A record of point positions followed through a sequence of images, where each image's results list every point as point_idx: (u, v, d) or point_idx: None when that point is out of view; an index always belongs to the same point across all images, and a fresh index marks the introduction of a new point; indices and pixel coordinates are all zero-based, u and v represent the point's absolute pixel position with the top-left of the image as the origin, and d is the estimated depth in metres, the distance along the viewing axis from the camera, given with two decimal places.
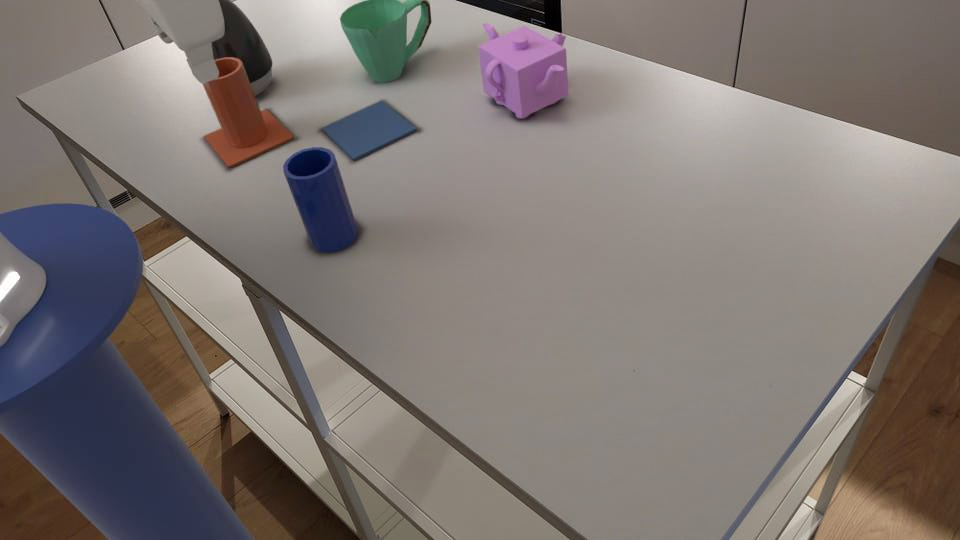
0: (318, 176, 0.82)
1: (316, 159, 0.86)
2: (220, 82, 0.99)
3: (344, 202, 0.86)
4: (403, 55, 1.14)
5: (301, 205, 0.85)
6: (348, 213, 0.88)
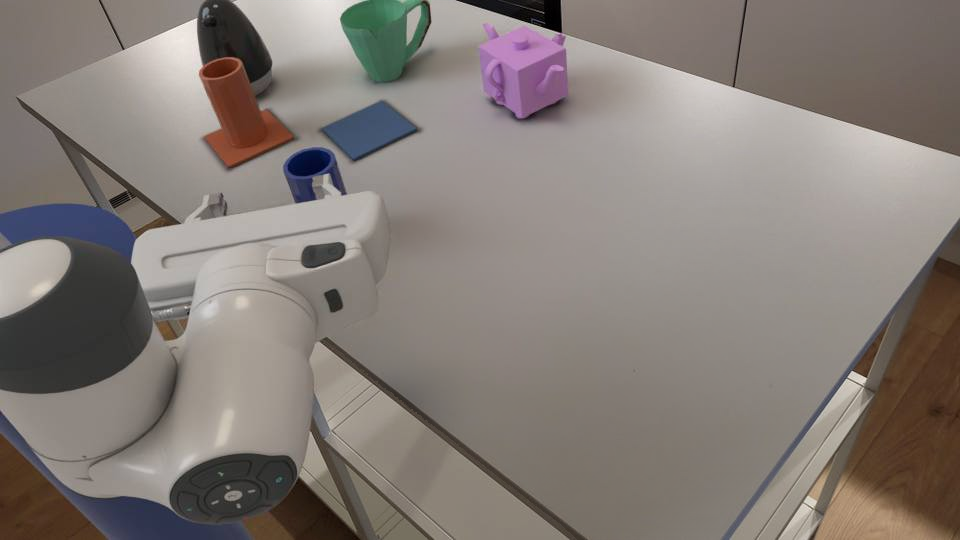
0: None
1: (316, 159, 0.86)
2: (220, 82, 0.99)
3: None
4: (403, 55, 1.14)
5: None
6: None
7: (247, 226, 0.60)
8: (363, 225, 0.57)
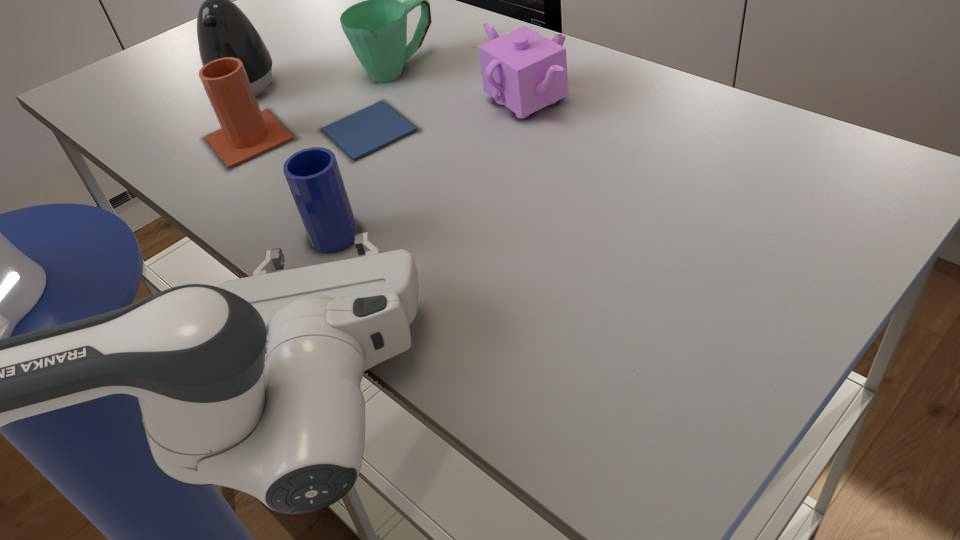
0: (318, 176, 0.82)
1: (316, 159, 0.86)
2: (220, 82, 0.99)
3: (344, 202, 0.86)
4: (403, 55, 1.14)
5: (301, 205, 0.85)
6: (348, 213, 0.88)
7: (305, 279, 0.75)
8: (399, 280, 0.72)
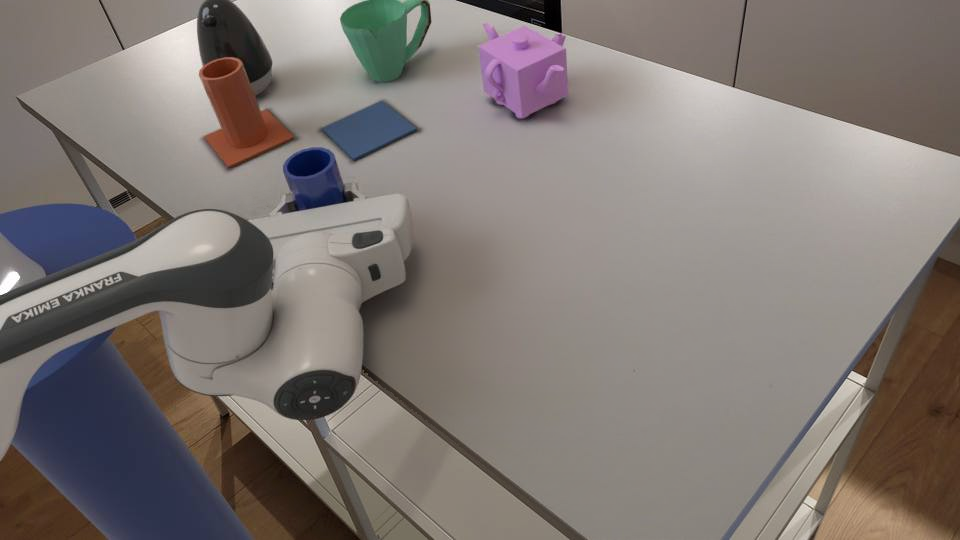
0: (318, 176, 0.82)
1: (316, 159, 0.86)
2: (220, 82, 0.99)
3: (344, 202, 0.86)
4: (403, 55, 1.14)
5: (300, 205, 0.85)
6: None
7: (309, 219, 0.82)
8: (394, 218, 0.79)
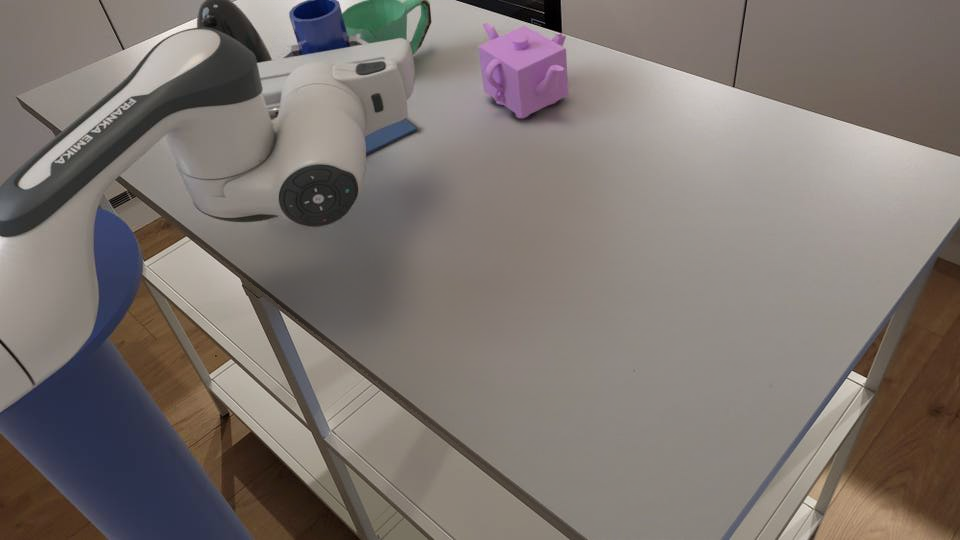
0: (323, 19, 0.84)
1: (321, 10, 0.89)
2: None
3: None
4: None
5: (306, 53, 0.87)
6: None
7: (314, 60, 0.84)
8: (397, 54, 0.81)
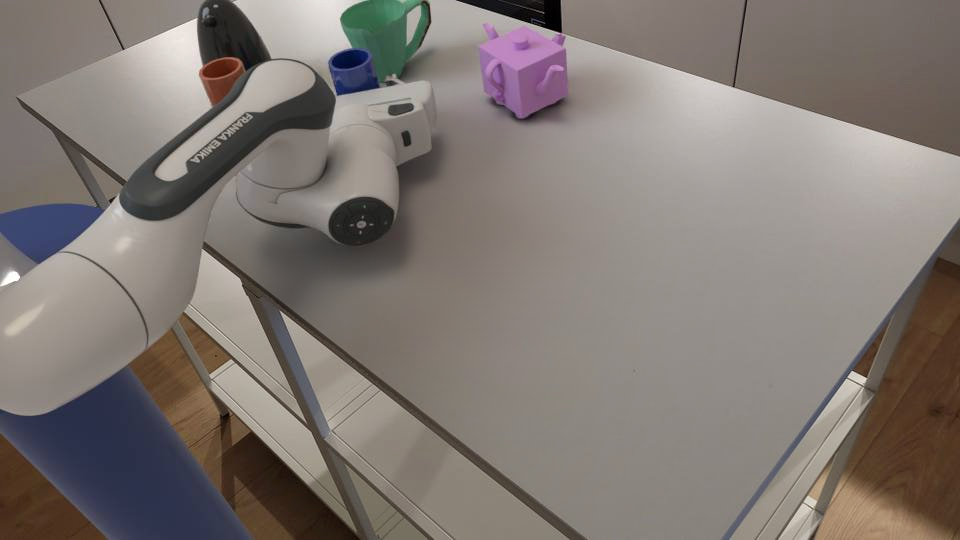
0: (358, 68, 0.97)
1: (355, 59, 1.01)
2: (220, 82, 0.99)
3: None
4: (403, 55, 1.14)
5: None
6: None
7: (349, 100, 0.96)
8: (422, 96, 0.94)
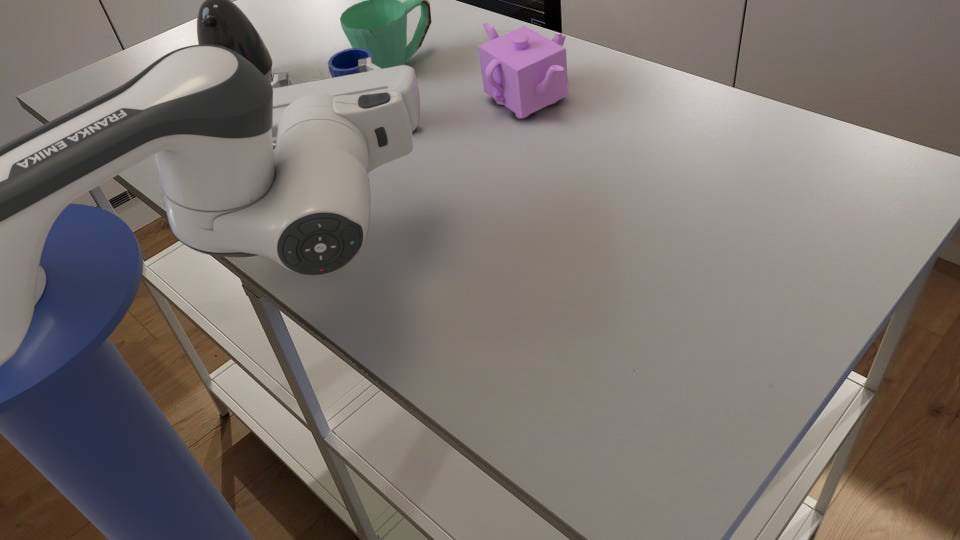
0: (358, 68, 0.97)
1: (355, 59, 1.01)
2: None
3: None
4: (403, 55, 1.14)
5: None
6: None
7: (312, 90, 0.78)
8: (401, 84, 0.76)
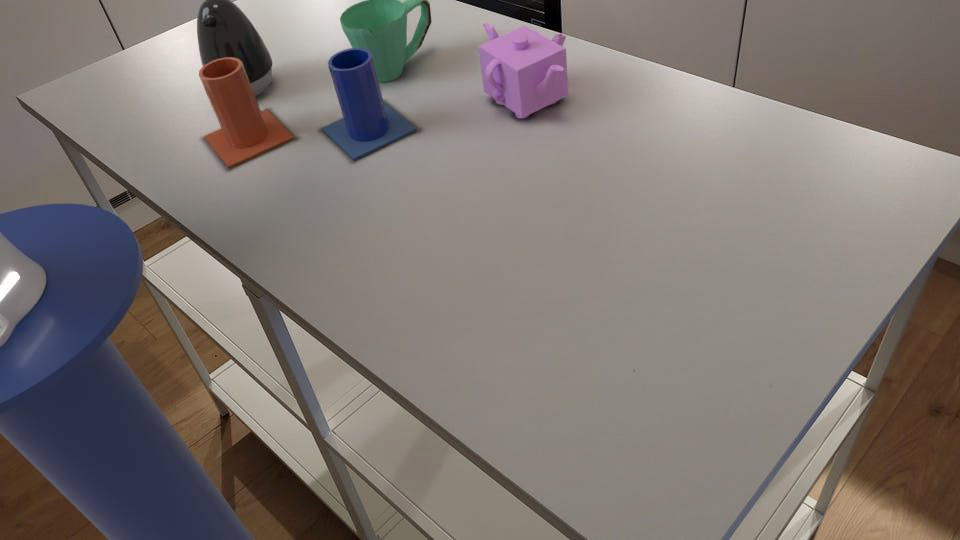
0: (358, 68, 0.97)
1: (355, 59, 1.01)
2: (220, 82, 0.99)
3: (378, 96, 1.01)
4: (403, 55, 1.14)
5: (342, 97, 1.00)
6: (381, 106, 1.03)
7: None
8: None
